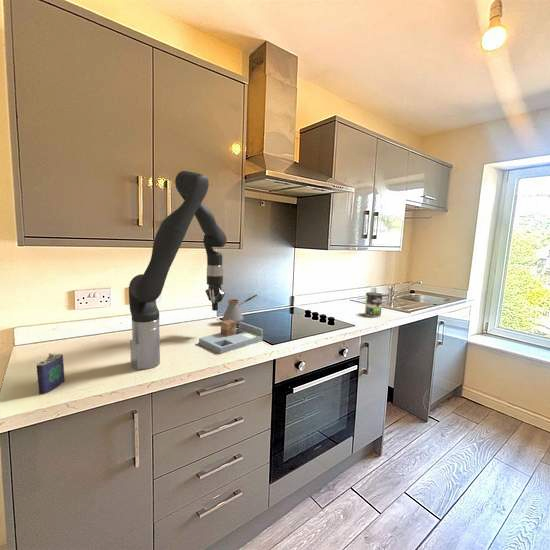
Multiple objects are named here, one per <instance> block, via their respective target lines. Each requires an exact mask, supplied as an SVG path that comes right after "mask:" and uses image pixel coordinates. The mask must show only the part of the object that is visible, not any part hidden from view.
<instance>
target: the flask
mask: <svg viewBox="0 0 550 550" xmlns="http://www.w3.org/2000/svg"><path fill="white" fill-rule="evenodd" d="M47 354H48V357H47V358H46V359H44V361H43V360H41V361H40V362H38V363H37V364H36V374H37V384H38V394H39V395H46V394H47V393H50V392H51V391H53V390H55V389H56V388H58V387H60V386H61V384H63V383H64V382H65V379H66V377H65V370H64V368H65V367H64V365H65V364H64V355H63V354H62V353H59V354H58V353H57V354H56V353H47Z"/></svg>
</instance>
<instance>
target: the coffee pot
mask: <svg viewBox="0 0 550 550" xmlns="http://www.w3.org/2000/svg"><path fill="white" fill-rule="evenodd" d="M254 298H257V299H258V298H259V296H258V294H255V295H252V296H249V298H247V299H245V300H244V301H242V302H240V300H239V299H234V298H232V299H228V300H227V303H228V305H227V307H226V309H225V312H224V314H223V316H222V321H225V320H232V321H235V322H236V326H237V325H238V326H239V322H243V321H244V315H243V314H242V311H241V309H240V306H241V305H243V304H244V303H247V302H248V301H250V300H252V299H254Z"/></svg>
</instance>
